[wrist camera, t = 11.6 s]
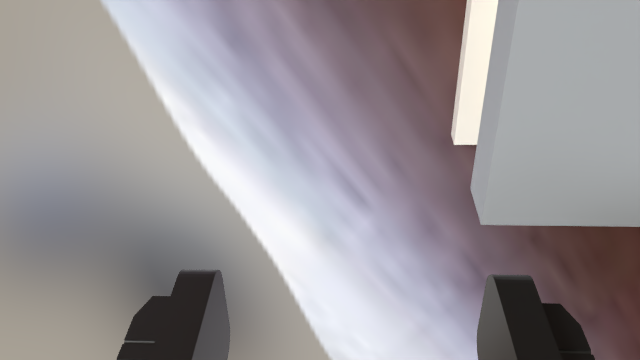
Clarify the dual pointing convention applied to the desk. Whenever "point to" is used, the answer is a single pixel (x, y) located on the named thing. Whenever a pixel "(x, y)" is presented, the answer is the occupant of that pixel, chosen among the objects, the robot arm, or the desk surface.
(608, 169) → the slab
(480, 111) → the roller bed
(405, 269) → the desk surface
